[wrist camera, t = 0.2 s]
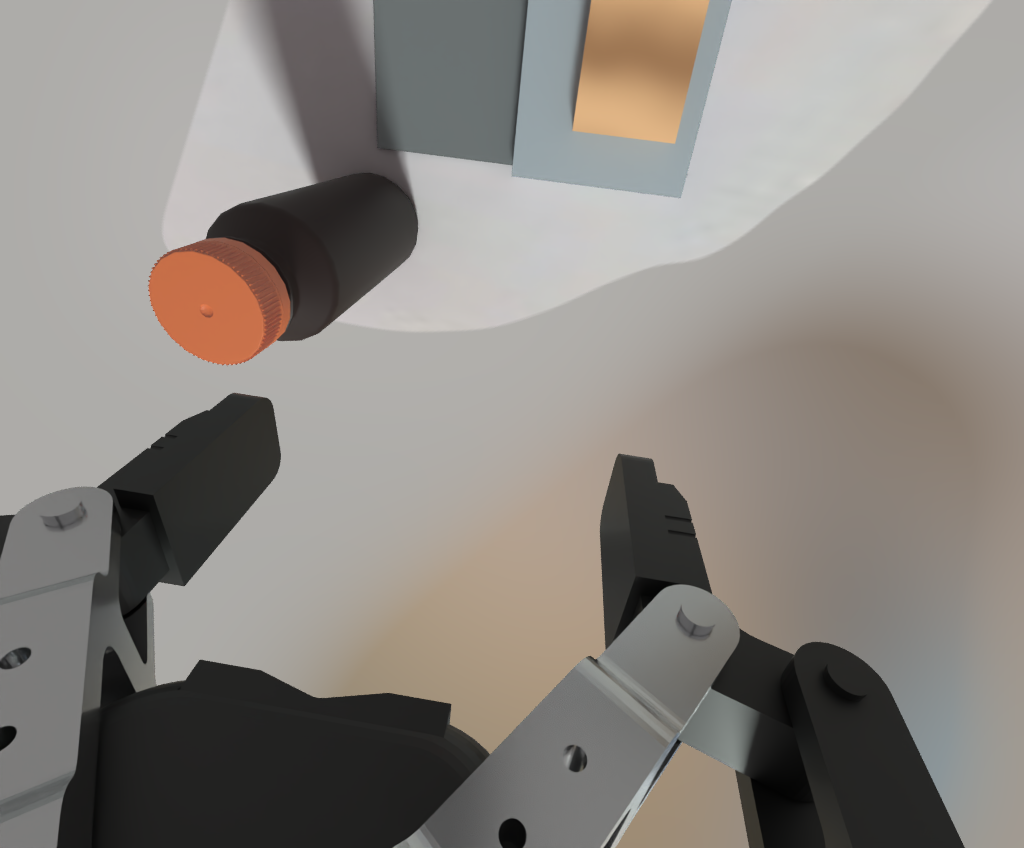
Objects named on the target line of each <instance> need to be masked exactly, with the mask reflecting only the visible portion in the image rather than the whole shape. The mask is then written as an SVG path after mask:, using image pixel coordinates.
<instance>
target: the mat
mask: <svg viewBox="0 0 1024 848" xmlns="http://www.w3.org/2000/svg"><path fill="white" fill-rule="evenodd" d="M373 6H374V40H375V74H376V108H377V142H378V148H383V149H391V150H399V151H406V152H414V153H422V154H430V155H437V156H445V157H453V158H461V159H468V160H476V161H484V162H492V163H499V164H507V165H513V156H514V146H515V135H516V125H517V114H518V104H519V93H520V83H521V72H522V62H523V51H524V41H525V30H526V20H527V9H528V0H373Z"/></svg>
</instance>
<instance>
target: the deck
mask: <svg viewBox="0 0 1024 848" xmlns="http://www.w3.org/2000/svg"><path fill="white" fill-rule="evenodd" d="M731 2H732V0H710V1H709V5H708V9H707V13H706V17H705V21H704V26H703V30H702V34H701V38H700V42H699V46H698V50H697V55H696V59H695V63H694V67H693V71H692V75H691V80H690V84H689V88H688V92H687V96H686V100H685V104H684V109H683V113H682V117H681V121H680V125H679V129H678V134H677V138H676V142H675V144H672V143H664V142H657V141H649V140H641V139H633V138H625V137H617V136H609V135H601V134H593V133H585V132H577V131H572V129H573V122H574V116H575V109H576V102H577V95H578V88H579V81H580V74H581V68H582V61H583V54H584V47H585V40H586V33H587V26H588V20H589V13H590V6H591V0H528V9H527V20H526V30H525V41H524V51H523V62H522V72H521V83H520V93H519V104H518V114H517V125H516V135H515V146H514V156H513V167H512V176H514V177H521V178H529V179H537V180H544V181H552V182H560V183H568V184H575V185H583V186H591V187H598V188H606V189H614V190H621V191H629V192H637V193H644V194H652V195H660V196H668V197H675V198H681V195H682V191H683V187H684V183H685V180H686V176H687V172H688V168H689V164H690V160H691V156H692V153H693V149H694V145H695V141H696V137H697V133H698V129H699V126H700V122H701V118H702V114H703V110H704V106H705V102H706V98H707V95H708V91H709V87H710V83H711V79H712V75H713V71H714V68H715V64H716V60H717V56H718V52H719V48H720V44H721V40H722V37H723V33H724V29H725V25H726V21H727V17H728V13H729V10H730V6H731Z"/></svg>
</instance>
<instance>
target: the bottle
mask: <svg viewBox="0 0 1024 848" xmlns="http://www.w3.org/2000/svg"><path fill="white" fill-rule="evenodd" d="M417 233H418V226H417V219H416V213H415V211H414V209H413V207H412V205H411V202H410V200H409V198H408V197H407V196H406V195H405V194H404V192H403V191H402V190H401V189H400V188H399V187H398V186H397V185H395V184H394V183H392V182H391V181H389V180H388V179H386V178H385V177H382V176H379V175H375V174H372V173H362V174H353V175H349V176H345V177H342V178H338V179H334V180H330V181H326V182H322V183H318V184H314V185H311V186H307V187H303V188H299V189H295V190H291V191H287V192H284V193H280V194H276V195H272V196H268V197H264V198H260V199H256V200H253V201H249V202H245V203H241V204H239V205H237V206H235V207H233V208H231V209H229V210H227V211H225V212H223V213H221V214H220V216H219V217H218V218H217V219H216V221H215V222H214V223H213V225H212V226H211V227H210V228H209V230H208V233H207V237H206V239H205V240H202V241H199V242H196V243H194V244H190V245H187V246H184V247H181V248H178V249H175V250H172V251H170V252H167V254H164V255H163V257H160V260H157V262H158V263H155V264H154V265H155V267H153V268H152V269H153V270H152V271H151V273H152V274H151V276H149V277H150V278H151V279H150V280H149V282H150V284H149V285H148V286H149V290H148V291H149V292H150V295H149V296H150V299H151V300H150V301H151V306H153V309H154V310H153V311H155V314H156V316H157V318H158V321H159V322H160V323H161V325H162V326H163V327H164V330H166V331H167V333H168V334H169V335H170V337H171V338H172V339H173V340H175V341H176V343H178V344H179V345H180V346H182V347H183V348H184V350H186V351H188V352H189V353H192V354H193V355H196V356H197V357H198V358H201V359H203V360H207V361H208V362H209V361H211V362H213V363H217V364H222V365H224V364H226V365H229V364H231V365H233V364H236V365H237V364H238V363H240V364H241V363H242V362H246V361H248V360H249V359H252V358H253V357H254V356H256V355H257V354H258V353H260V352H261V351H262V350H264V349H265V348H267V347H268V346H269V345H271V344H272V343H274V342H275V341H276V340H278V341H294V340H295V341H297V340H303V339H305V338H308V337H311V336H313V335H316V334H318V333H319V332H321V331H322V330H323V329H324V328H326V327H327V326H328V325H329V324H330V323H332V322H333V321H334V320H335V319H336V318H338V317H339V316H340V315H341V314H342V313H344V312H345V311H346V310H347V309H348V308H350V307H351V306H352V305H353V304H354V303H356V302H357V301H358V300H359V299H360V298H362V297H363V296H364V295H365V294H366V293H368V292H369V291H370V290H371V289H372V288H374V287H375V286H376V285H377V284H378V283H380V282H381V281H382V280H383V279H384V278H386V277H387V276H388V275H389V274H390V273H392V272H393V271H394V270H395V269H396V268H398V267H399V266H400V265H401V264H402V263H403V262H404V261H405V260H406V259H407V258H409V257H410V255H411V253H412V251H413V249H414V247H415V245H416V240H417Z"/></svg>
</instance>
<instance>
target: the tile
mask: <svg viewBox="0 0 1024 848" xmlns="http://www.w3.org/2000/svg"><path fill="white" fill-rule="evenodd" d="M709 1H710V0H591V6H590V13H589V20H588V26H587V33H586V40H585V47H584V54H583V61H582V68H581V74H580V81H579V88H578V95H577V102H576V109H575V116H574V122H573V129H572V131H577V132H585V133H593V134H601V135H609V136H617V137H625V138H633V139H641V140H649V141H657V142H664V143H672V144H675V142H676V138H677V134H678V129H679V125H680V121H681V117H682V113H683V109H684V104H685V100H686V96H687V92H688V88H689V84H690V80H691V75H692V71H693V67H694V63H695V59H696V55H697V50H698V46H699V42H700V38H701V34H702V30H703V26H704V21H705V17H706V13H707V9H708V5H709Z"/></svg>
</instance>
